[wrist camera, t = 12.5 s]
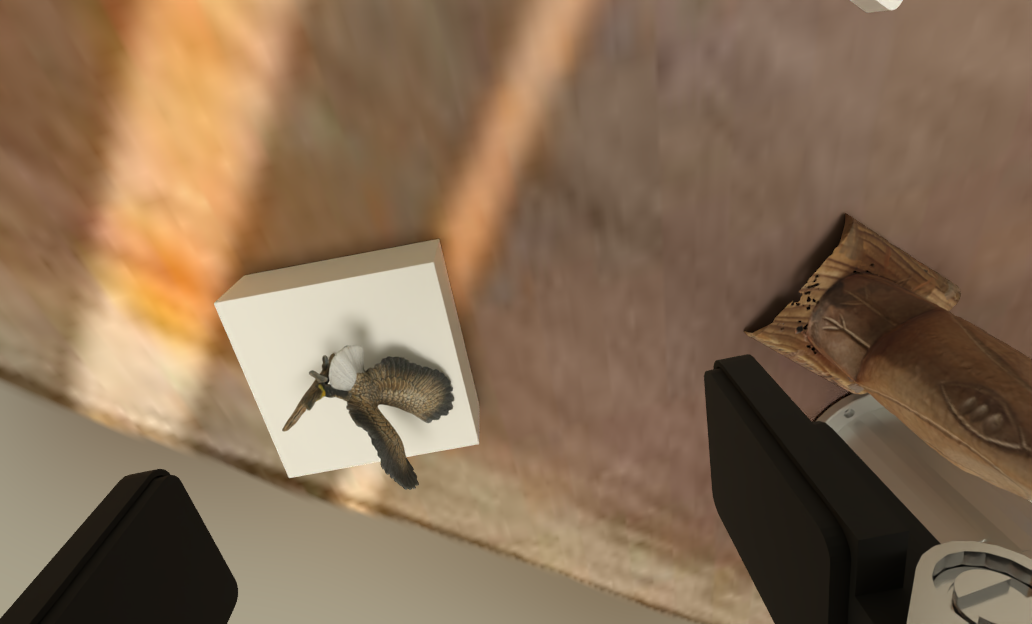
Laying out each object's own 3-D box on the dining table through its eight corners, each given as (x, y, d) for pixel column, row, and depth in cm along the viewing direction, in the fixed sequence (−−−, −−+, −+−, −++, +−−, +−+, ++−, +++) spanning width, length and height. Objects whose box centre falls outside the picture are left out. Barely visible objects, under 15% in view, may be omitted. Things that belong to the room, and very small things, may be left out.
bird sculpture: (831, 205, 41) (1646, 563, 12) (950, 276, 44) (1878, 720, 14) (737, 331, 45) (1177, 837, 16) (852, 389, 47) (1420, 924, 18)
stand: (439, 238, 40) (433, 262, 36) (479, 405, 46) (479, 443, 41) (244, 275, 40) (213, 303, 36) (308, 436, 46) (289, 477, 42)
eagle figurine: (294, 429, 39) (414, 489, 39) (266, 431, 32) (412, 504, 32) (352, 329, 40) (466, 388, 41) (338, 311, 33) (475, 382, 34)
